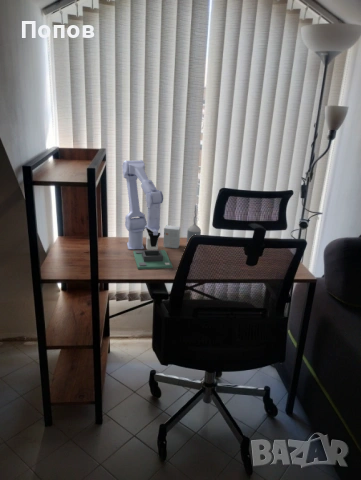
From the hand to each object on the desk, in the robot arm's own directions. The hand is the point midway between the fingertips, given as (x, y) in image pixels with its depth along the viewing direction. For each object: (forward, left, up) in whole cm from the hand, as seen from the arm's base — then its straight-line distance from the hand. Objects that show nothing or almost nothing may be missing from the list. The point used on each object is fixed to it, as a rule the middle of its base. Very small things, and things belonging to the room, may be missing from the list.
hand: (152, 244), depth 186 cm
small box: (-18, +13, -8) cm, 24 cm away
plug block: (0, 0, -2) cm, 2 cm away
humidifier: (-8, +22, -8) cm, 25 cm away
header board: (0, 0, -8) cm, 8 cm away
